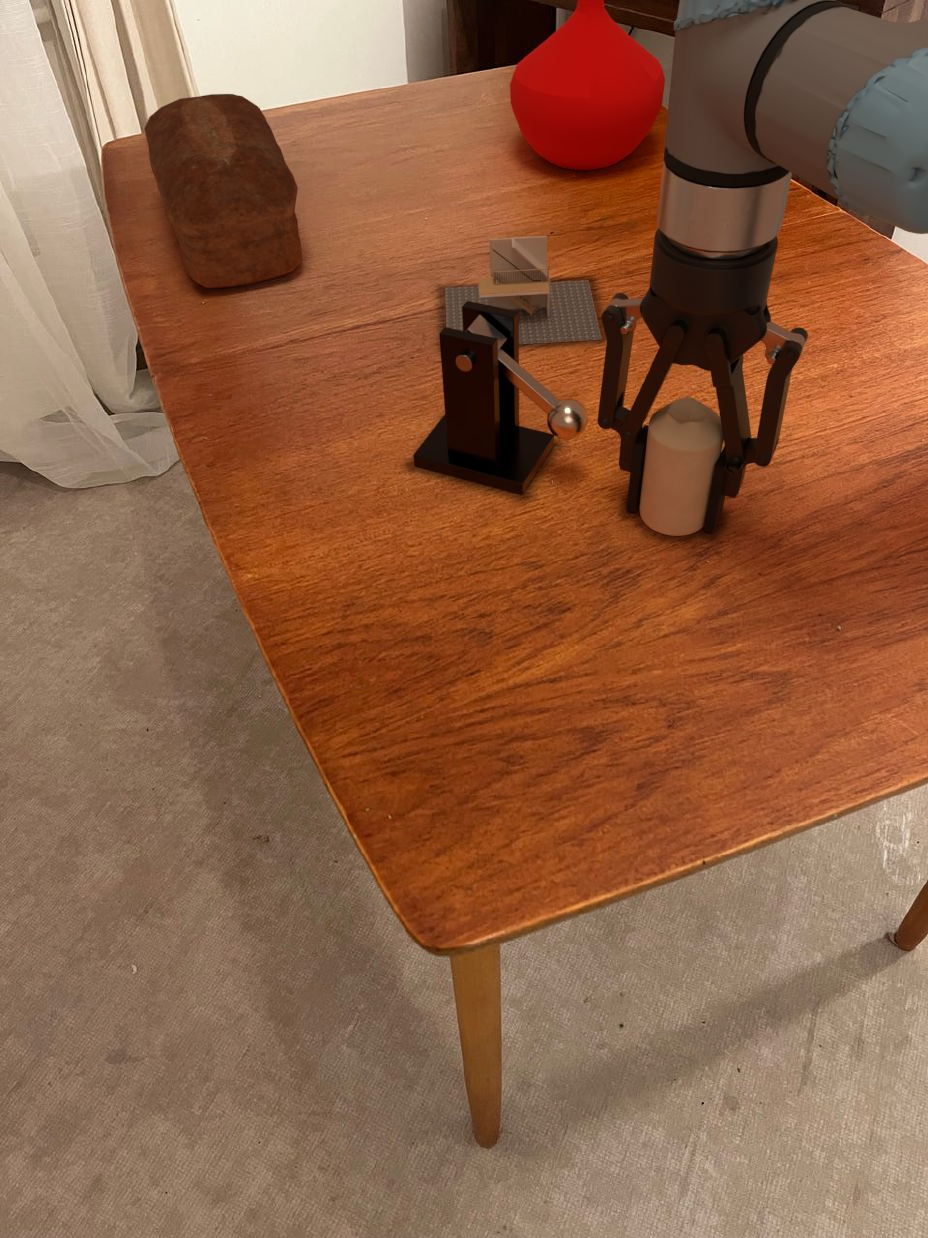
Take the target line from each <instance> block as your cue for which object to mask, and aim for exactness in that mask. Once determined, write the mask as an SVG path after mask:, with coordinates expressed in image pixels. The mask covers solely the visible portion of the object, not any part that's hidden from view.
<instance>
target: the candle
mask: <svg viewBox="0 0 928 1238" xmlns="http://www.w3.org/2000/svg"><path fill="white" fill-rule="evenodd" d="M648 426H649V427H648V435H647V444H646V452H645V461H644V470H643V478H642V487H641V495H640V505H639V507H638V510H639V515H640V518H641V520H642V522H643V523H644V524H645V525H646V526H647V528H649V529H651V530H653V531H655V532H657V533H659V534H663V535H666V536H672V537H681V536H687V535H692V534H694V533H696V532H698V531H700V530H701V529H703V528H704V524H705V519H706V514H707V508H708V503H709V497H710V492H711V487H712V481H713V476H714V471H715V465H716V463H717V461H718V459H719V457H720V454H721V452H722V450H723V447H724V438H723V432H722V425H721V419H720V414H718V413H717V412H716V411H715V410H713V409H712V408H710V407H709V406H707V405H706V404H705V403H703V402H701V401H699V400H697V399H696V398H694V397H691V396H687V397H683V398H678V399H676V400H673V401H672V402H670V403H669V404H667V405H664V406H662V407H661V408H658V410H656V411H655V412H654V413H653V414H652V415H651V416H650V418H649V421H648Z"/></svg>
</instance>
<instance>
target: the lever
mask: <svg viewBox="0 0 928 1238" xmlns="http://www.w3.org/2000/svg"><path fill="white" fill-rule="evenodd" d="M466 332H470V333H475V334H480V335H484V336H489V337H493V338H497V339H498V371H499V372H500V373H501V374H502V375H503V376H504V377H506V378H507V379H508V380H509V381H510V382H511V383H512V384H514V385H515V386H516V387H517V388H518V389H519V392H521V393H522V394H523V395H524V396H526V397H527V398H528V399H529V400H530V401H532V402H533V403H534V404H535V405H536V406H537V407H539V408H540V409H541V410H542V411H543V412H544V413H545V414H546V424H547V427H548V430H549V431H550V434H553V435H554V437H556V438H558V439H560V440H562V441H569V440H570V441H572V440H574V439H576V438H578V437H580V436H581V435H582V434H583V433H584V432H585V430H586V428H587V425H588V420H589V417H588V412H587V409H586V408H585V406H584V405H583V404H582V403H581V402H580V401H578V400H576V399H574V398H562V399H559V398H558V397H556V396H555V395H554V394H553V393H552V392H551V391H550V390H549V389H547V388H546V387H545V386H544V385H543V384H542V383H541V382H540V381H539V380H538V379H536V378H535V377H534V376H533V375H532V374H530V372H529V371H528V370H526V369H525V368H523V367H522V365H520V363H519V364H518V363H517V362H516V361H514V360H513V359H512V358H511V357H510V356H509V355H508V354H506V353H505V352H504V351H503V350H502V349H501V348H500V347H501V346H502V345H503V344H504V342H505V341H506V340H507V338H506V337H505V336H504V335H503V334H502V333H501V332H499V331H498V330H497V329H496V328H495V327H494V326H493V325H491V324H490V323H489V322H488V321H487V320H486V319H485V318H484V317H482V316H481V315H479V316H478V317H477V318H476V319H475V320H474V322H473V323H472V324H471V325H470V327H469V328H468V329H467V330H466Z"/></svg>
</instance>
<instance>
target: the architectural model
mask: <svg viewBox="0 0 928 1238" xmlns="http://www.w3.org/2000/svg"><path fill="white" fill-rule="evenodd" d="M547 255H548V236H547V235H536V236H521V237H503V238H501V237H500V238H490V239H489V261H490V262H489V263H490V271H489V272H490V276H483V277H482V276H481V277H478V278H477V282H478V285H477V286H459V287H458V286H457V287H456V286H455V287H445V288H444V296H445V297H444V299H445V300H444V301H445V302H444V303H445V327H447V328H452V329H456V330H461V331H463V317H462V306H463V305H464V304H465V303H466V302H467V301H471V302H475V303H480V304H485V305H490V306H495V307H500V308H505V309H510V310H514V311H518V312H519V345H531V344H548V343H567V342H585V341H603V340H602V339H603V338H602V334H601V331H600V325H599V321H598V317H597V311H596V307H595V304H594V299H593V294H592V290H591V285H590V281H589V279H581V280H579V279H578V280H565V281H551V275H550V267H548V266H547V265H548V264H547V259H548V256H547Z"/></svg>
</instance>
